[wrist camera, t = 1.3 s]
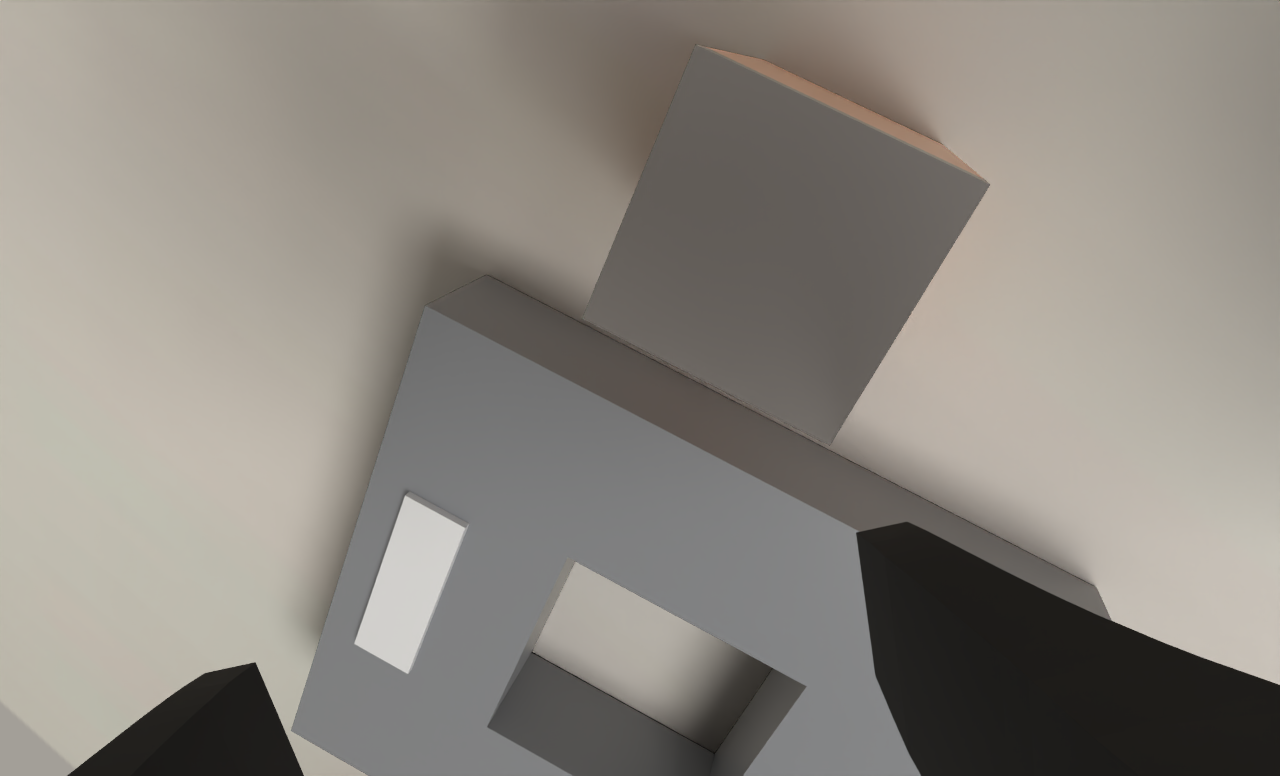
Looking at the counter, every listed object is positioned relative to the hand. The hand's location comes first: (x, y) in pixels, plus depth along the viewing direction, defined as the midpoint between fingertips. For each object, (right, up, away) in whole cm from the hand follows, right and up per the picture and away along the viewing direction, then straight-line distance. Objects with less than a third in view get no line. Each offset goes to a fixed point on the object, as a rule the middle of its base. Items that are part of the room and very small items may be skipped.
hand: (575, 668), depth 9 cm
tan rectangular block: (+4, +7, +8) cm, 11 cm away
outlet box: (+1, -3, +12) cm, 13 cm away
